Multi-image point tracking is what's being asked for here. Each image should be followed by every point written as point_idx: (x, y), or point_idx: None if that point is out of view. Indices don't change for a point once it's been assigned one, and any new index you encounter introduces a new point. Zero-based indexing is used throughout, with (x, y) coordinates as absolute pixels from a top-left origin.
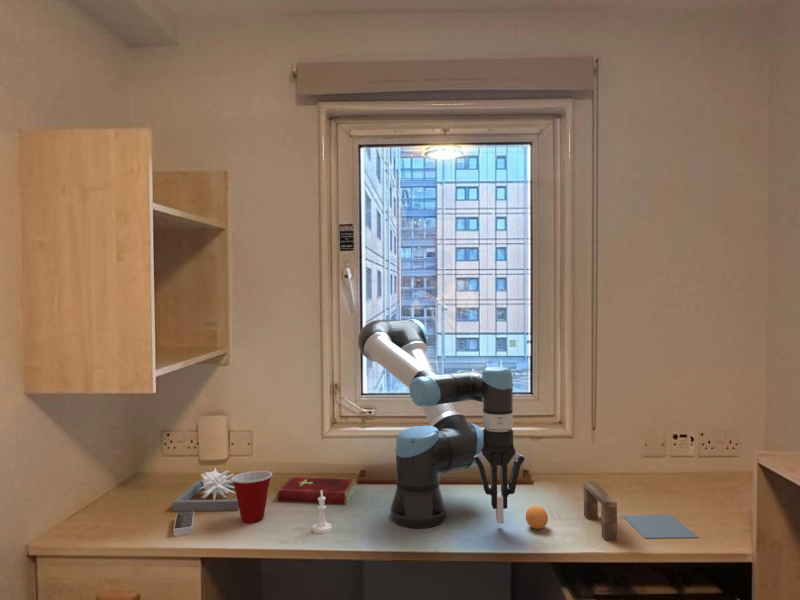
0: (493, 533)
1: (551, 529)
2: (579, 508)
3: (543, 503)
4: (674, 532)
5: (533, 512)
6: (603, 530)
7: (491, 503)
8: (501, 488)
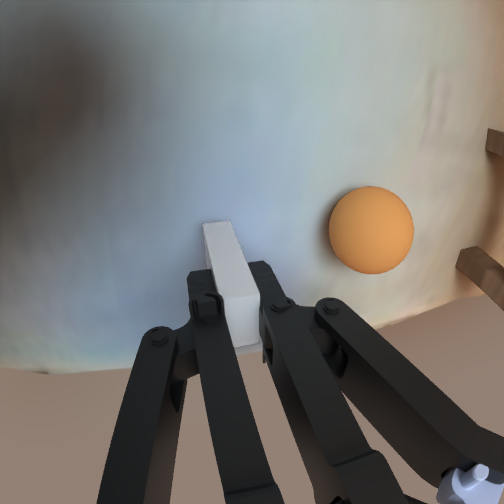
0: (185, 268)
1: None
2: (494, 79)
3: (428, 7)
4: None
5: (366, 271)
6: (470, 270)
7: (187, 284)
8: (270, 333)
